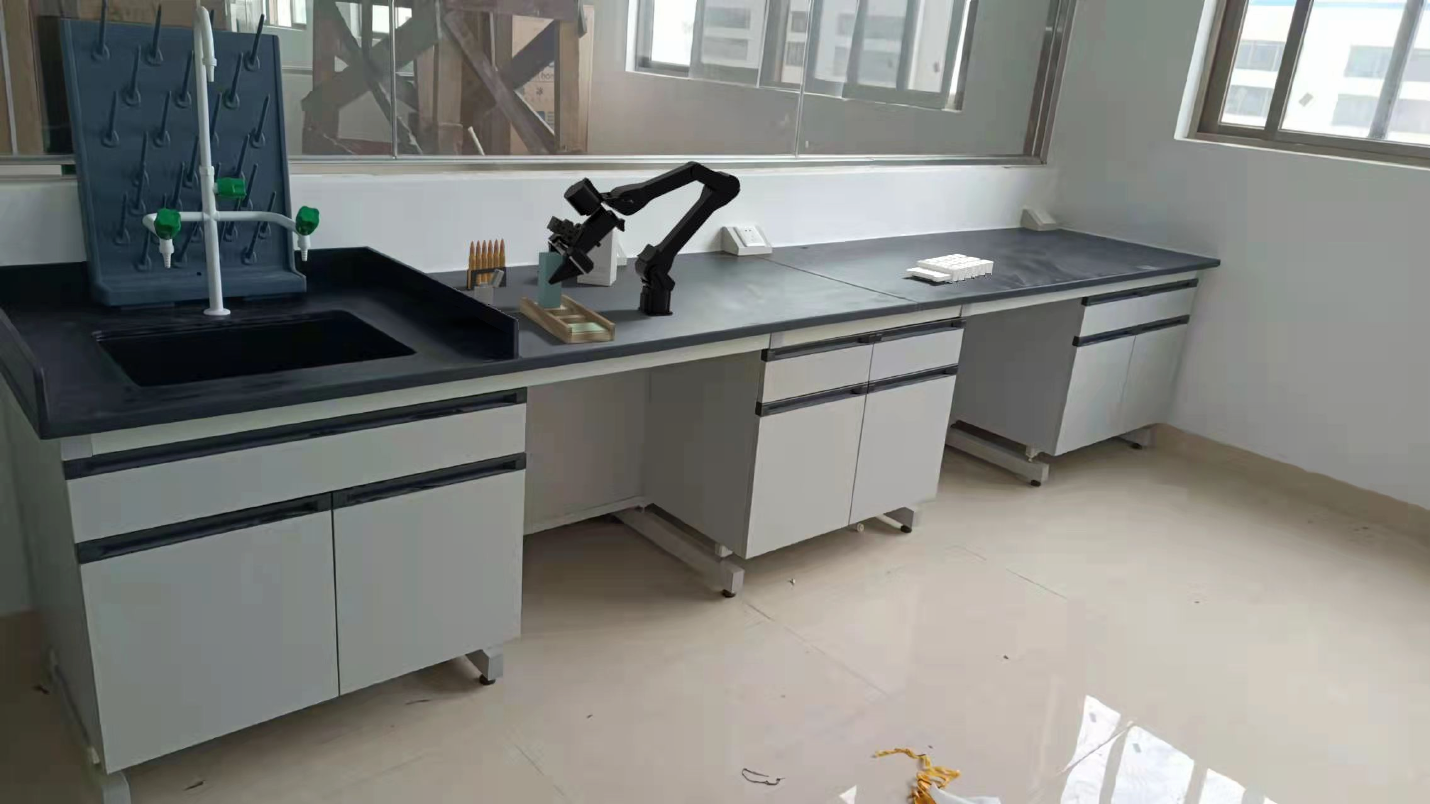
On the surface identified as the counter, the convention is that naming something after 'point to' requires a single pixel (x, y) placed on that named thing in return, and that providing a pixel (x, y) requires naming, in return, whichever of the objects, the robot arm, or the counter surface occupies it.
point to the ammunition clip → (485, 264)
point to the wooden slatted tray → (570, 321)
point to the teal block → (547, 266)
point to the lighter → (488, 288)
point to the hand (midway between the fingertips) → (543, 278)
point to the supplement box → (603, 262)
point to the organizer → (951, 268)
